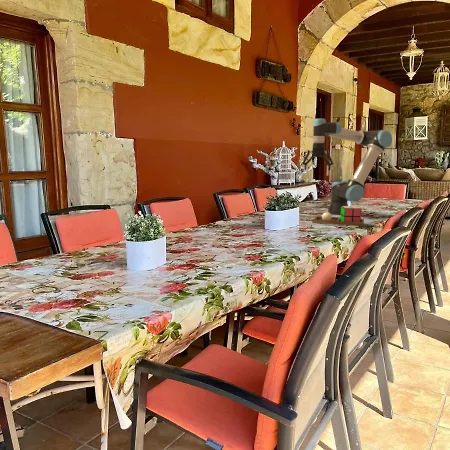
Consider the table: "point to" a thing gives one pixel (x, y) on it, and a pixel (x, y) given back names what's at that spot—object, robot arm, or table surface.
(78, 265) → the table surface
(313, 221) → the brown wooden tray
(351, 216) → the puzzle cube
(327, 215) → the ceramic egg
